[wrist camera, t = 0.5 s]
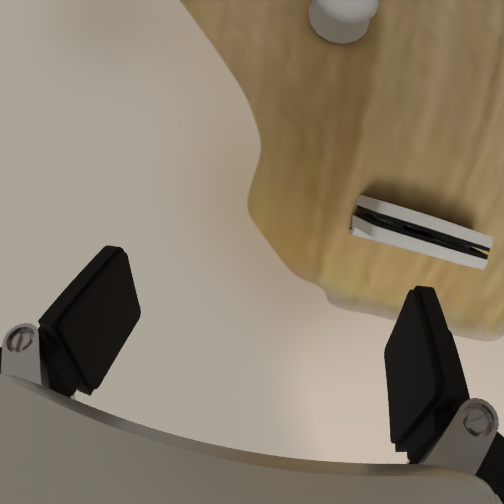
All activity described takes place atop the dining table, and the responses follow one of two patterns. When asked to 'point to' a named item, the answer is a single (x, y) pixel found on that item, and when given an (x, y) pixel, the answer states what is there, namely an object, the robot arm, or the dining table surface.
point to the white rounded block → (436, 244)
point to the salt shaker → (342, 18)
